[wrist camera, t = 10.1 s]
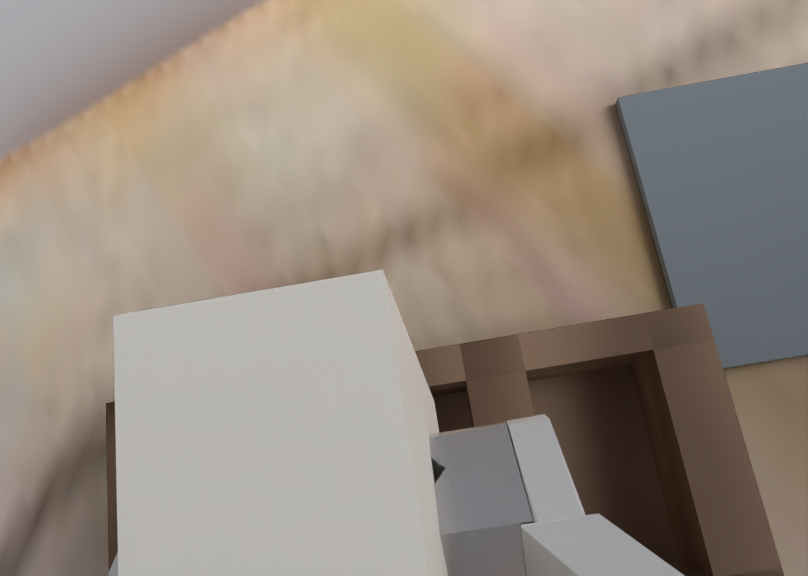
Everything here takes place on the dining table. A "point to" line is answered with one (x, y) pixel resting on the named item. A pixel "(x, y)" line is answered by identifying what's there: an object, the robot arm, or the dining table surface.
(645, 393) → the rack
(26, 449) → the dining table surface
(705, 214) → the mat
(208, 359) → the block
